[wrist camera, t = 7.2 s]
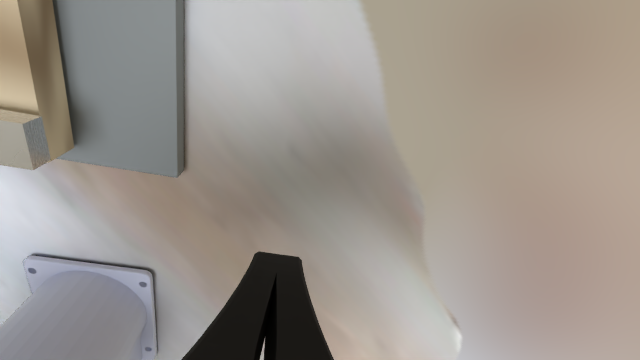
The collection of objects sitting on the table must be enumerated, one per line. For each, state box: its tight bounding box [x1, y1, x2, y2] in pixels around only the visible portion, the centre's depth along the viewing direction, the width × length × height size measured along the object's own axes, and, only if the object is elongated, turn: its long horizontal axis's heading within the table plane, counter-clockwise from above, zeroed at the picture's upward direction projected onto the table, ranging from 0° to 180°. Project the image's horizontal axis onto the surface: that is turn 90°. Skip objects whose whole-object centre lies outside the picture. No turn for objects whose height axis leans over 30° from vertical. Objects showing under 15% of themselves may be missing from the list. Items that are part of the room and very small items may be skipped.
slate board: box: [52, 0, 184, 178], centre depth 14 cm, size 14×11×1 cm
